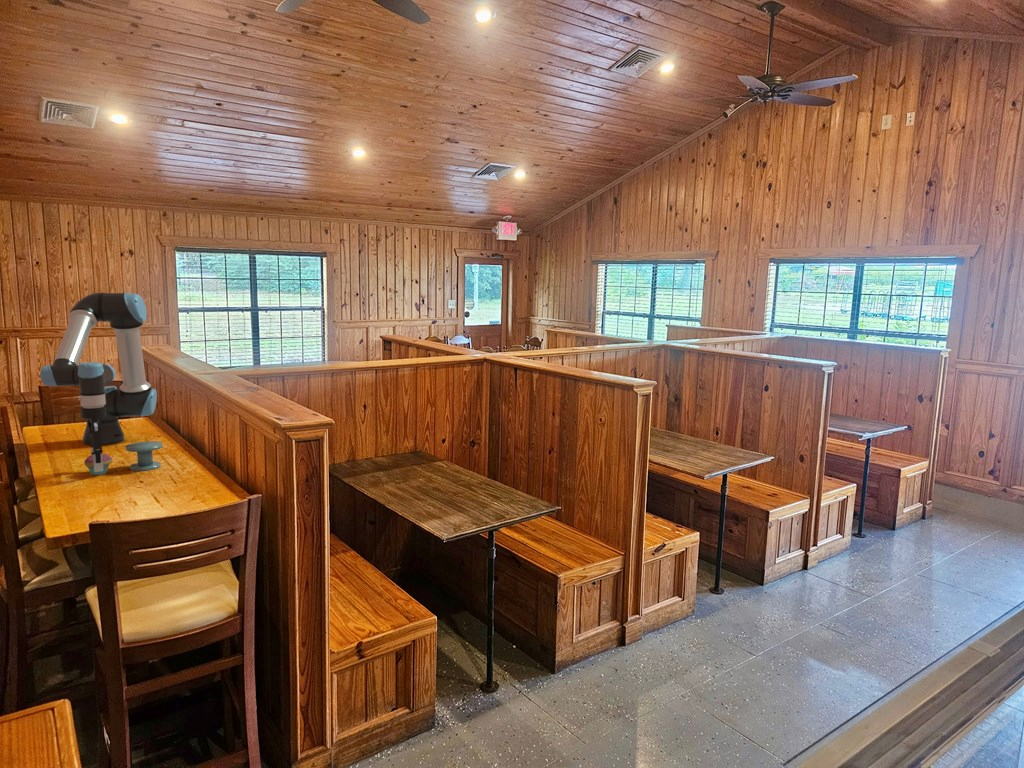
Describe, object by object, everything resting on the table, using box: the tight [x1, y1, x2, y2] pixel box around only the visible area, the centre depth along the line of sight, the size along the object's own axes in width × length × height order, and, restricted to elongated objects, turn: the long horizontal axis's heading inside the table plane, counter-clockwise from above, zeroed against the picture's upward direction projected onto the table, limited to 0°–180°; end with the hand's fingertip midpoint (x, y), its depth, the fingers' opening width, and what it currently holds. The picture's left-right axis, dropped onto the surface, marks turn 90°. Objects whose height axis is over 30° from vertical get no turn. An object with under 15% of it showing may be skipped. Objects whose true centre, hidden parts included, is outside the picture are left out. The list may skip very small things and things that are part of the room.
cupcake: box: [83, 449, 113, 476], centre depth 233 cm, size 9×8×12 cm
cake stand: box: [125, 440, 164, 472], centre depth 242 cm, size 12×12×8 cm
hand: (97, 468), depth 233 cm, fingers closed on cupcake, 8 cm apart
